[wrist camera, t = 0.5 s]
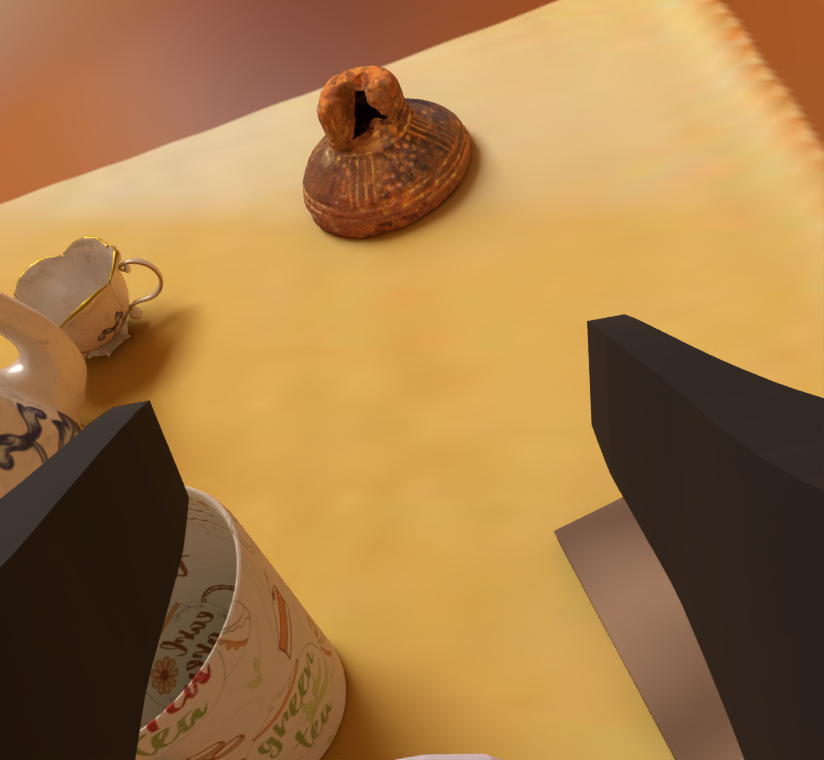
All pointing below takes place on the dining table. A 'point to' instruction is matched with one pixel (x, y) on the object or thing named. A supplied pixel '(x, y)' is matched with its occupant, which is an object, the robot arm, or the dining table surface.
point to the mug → (237, 657)
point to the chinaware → (58, 348)
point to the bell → (380, 155)
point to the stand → (649, 631)
